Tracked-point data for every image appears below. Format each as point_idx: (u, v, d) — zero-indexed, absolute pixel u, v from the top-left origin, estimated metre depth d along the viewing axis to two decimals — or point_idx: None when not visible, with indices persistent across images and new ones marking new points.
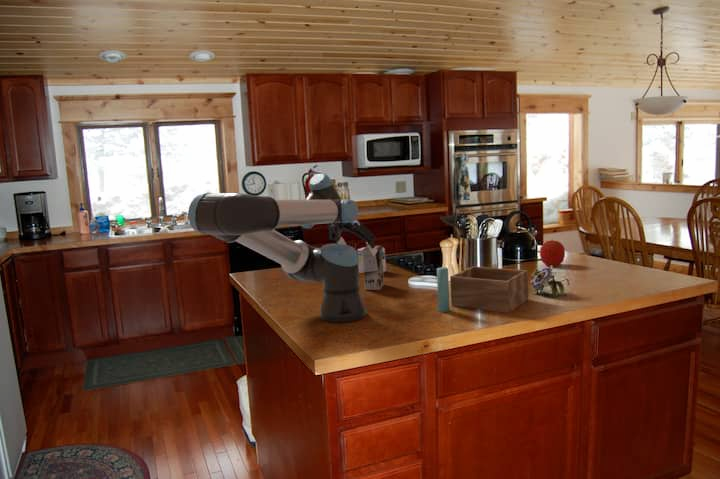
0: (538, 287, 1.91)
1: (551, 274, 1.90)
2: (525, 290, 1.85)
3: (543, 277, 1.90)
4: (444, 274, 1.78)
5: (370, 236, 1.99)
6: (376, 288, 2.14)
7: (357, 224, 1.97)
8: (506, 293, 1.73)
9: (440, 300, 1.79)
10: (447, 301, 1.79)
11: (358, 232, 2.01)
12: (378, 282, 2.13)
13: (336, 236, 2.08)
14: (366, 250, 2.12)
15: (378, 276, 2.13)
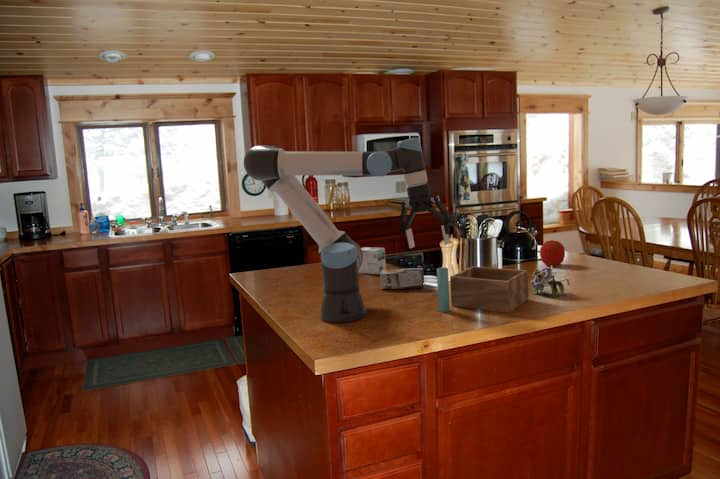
0: (538, 287, 1.91)
1: (551, 274, 1.90)
2: (525, 290, 1.85)
3: (543, 277, 1.90)
4: (444, 274, 1.78)
5: (448, 215, 1.83)
6: (382, 285, 2.13)
7: (437, 198, 1.83)
8: (506, 293, 1.73)
9: (440, 300, 1.79)
10: (447, 301, 1.79)
11: (435, 211, 1.85)
12: (388, 287, 2.13)
13: (407, 221, 1.91)
14: (420, 276, 2.10)
15: (394, 287, 2.13)
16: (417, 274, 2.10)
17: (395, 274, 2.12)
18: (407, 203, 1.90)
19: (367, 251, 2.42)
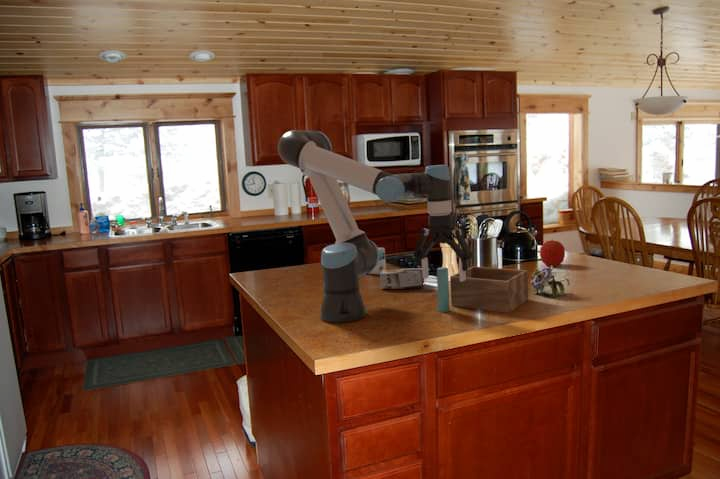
0: (538, 287, 1.91)
1: (551, 274, 1.90)
2: (525, 290, 1.85)
3: (543, 277, 1.90)
4: (444, 274, 1.78)
5: (468, 251, 1.72)
6: (382, 285, 2.13)
7: (459, 232, 1.73)
8: (506, 293, 1.73)
9: (440, 300, 1.79)
10: (447, 301, 1.79)
11: (455, 245, 1.74)
12: (388, 287, 2.13)
13: (424, 250, 1.81)
14: (420, 276, 2.10)
15: (394, 287, 2.13)
16: (417, 274, 2.10)
17: (395, 274, 2.12)
18: (427, 231, 1.80)
19: None
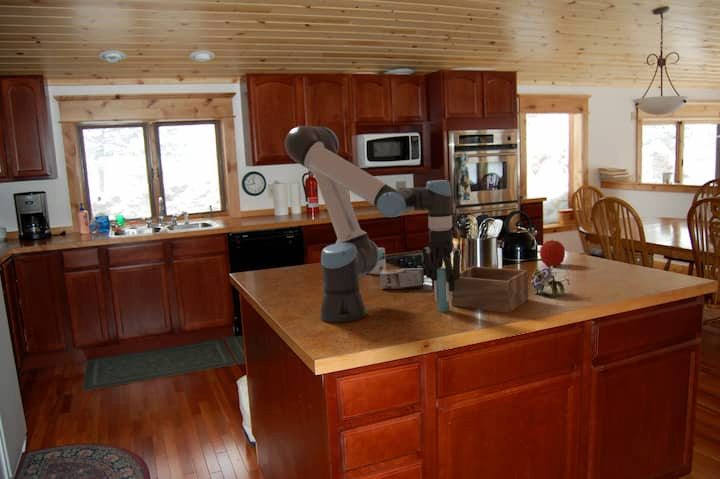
0: (538, 287, 1.91)
1: (551, 274, 1.90)
2: (525, 290, 1.85)
3: (543, 277, 1.90)
4: (444, 274, 1.78)
5: (457, 273, 1.76)
6: (382, 285, 2.13)
7: (458, 253, 1.74)
8: (506, 293, 1.73)
9: (440, 300, 1.79)
10: None
11: (449, 264, 1.77)
12: (388, 287, 2.13)
13: (433, 270, 1.80)
14: (420, 276, 2.10)
15: (394, 287, 2.13)
16: (417, 274, 2.10)
17: (395, 274, 2.12)
18: (428, 248, 1.81)
19: None
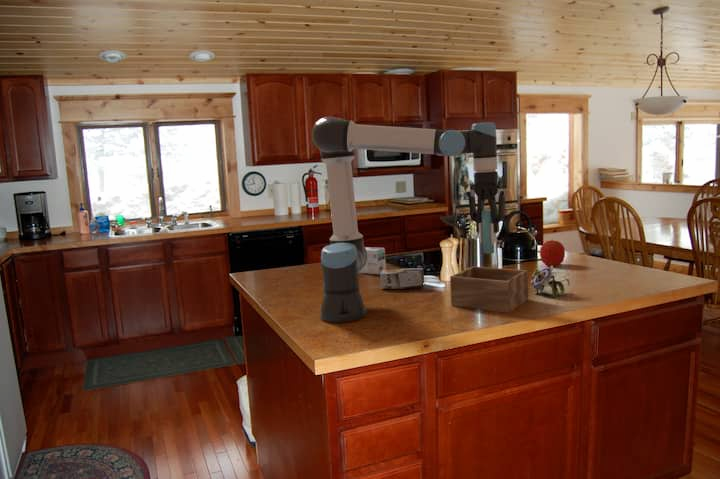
0: (538, 287, 1.90)
1: (551, 274, 1.90)
2: (525, 290, 1.85)
3: (543, 277, 1.90)
4: (489, 216, 1.80)
5: (502, 214, 1.78)
6: (382, 285, 2.13)
7: (504, 194, 1.77)
8: (506, 293, 1.73)
9: (485, 242, 1.82)
10: (492, 243, 1.82)
11: (494, 206, 1.80)
12: (388, 287, 2.13)
13: (478, 212, 1.83)
14: (420, 276, 2.10)
15: (394, 287, 2.13)
16: (417, 274, 2.10)
17: (395, 274, 2.12)
18: (472, 191, 1.83)
19: (367, 251, 2.42)
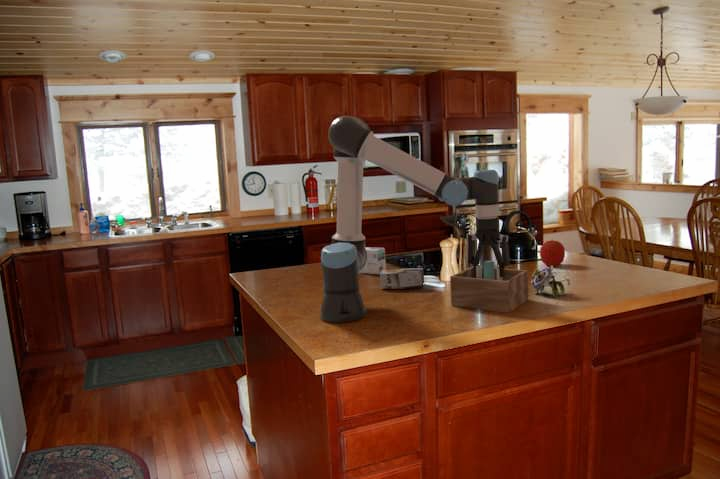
0: (538, 287, 1.90)
1: (551, 274, 1.90)
2: (525, 290, 1.85)
3: (543, 277, 1.90)
4: (491, 267, 1.83)
5: (507, 259, 1.80)
6: (382, 285, 2.13)
7: (506, 239, 1.79)
8: (506, 293, 1.73)
9: None
10: None
11: (497, 251, 1.82)
12: (388, 287, 2.13)
13: (476, 256, 1.86)
14: (420, 276, 2.10)
15: (394, 287, 2.13)
16: (417, 274, 2.10)
17: (395, 274, 2.12)
18: (474, 236, 1.86)
19: (367, 251, 2.42)
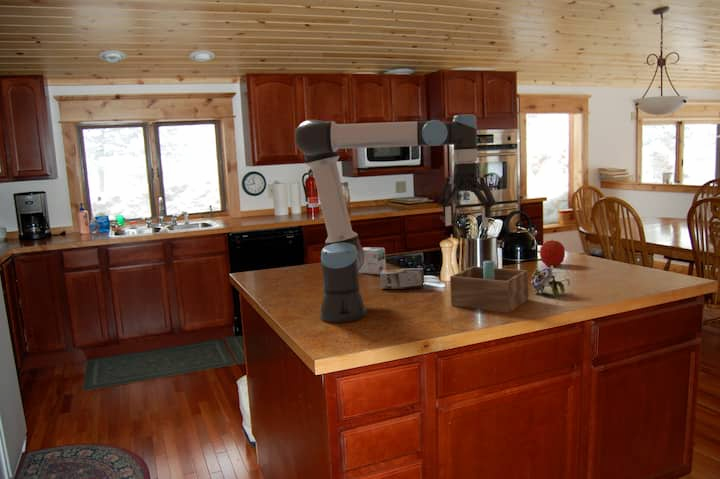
0: (539, 287, 1.90)
1: (552, 274, 1.90)
2: (525, 290, 1.85)
3: (544, 277, 1.90)
4: (491, 267, 1.83)
5: (491, 199, 1.79)
6: (382, 285, 2.13)
7: (484, 179, 1.79)
8: (506, 293, 1.73)
9: None
10: None
11: (479, 192, 1.81)
12: (388, 287, 2.13)
13: (448, 198, 1.87)
14: (420, 276, 2.10)
15: (394, 287, 2.13)
16: (417, 274, 2.10)
17: (395, 274, 2.12)
18: (452, 180, 1.86)
19: (367, 251, 2.42)
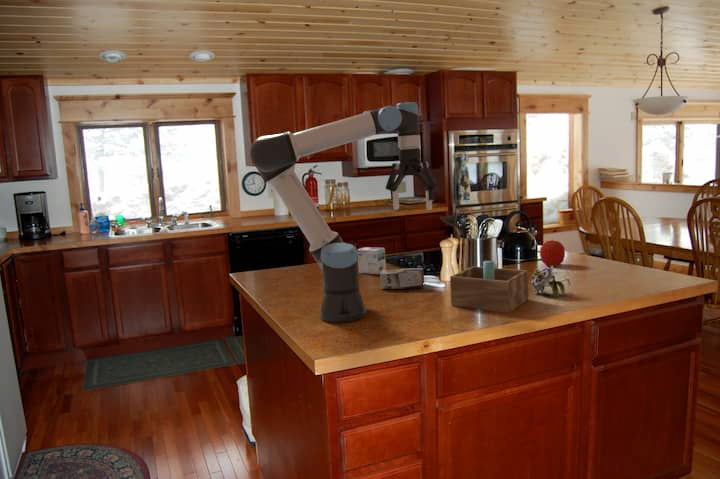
0: (539, 287, 1.90)
1: (552, 274, 1.90)
2: (525, 290, 1.85)
3: (544, 277, 1.89)
4: (491, 267, 1.83)
5: (434, 182, 1.88)
6: (382, 285, 2.13)
7: (426, 164, 1.88)
8: (506, 293, 1.73)
9: None
10: None
11: (422, 176, 1.90)
12: (388, 287, 2.13)
13: (394, 183, 1.96)
14: (420, 276, 2.10)
15: (394, 287, 2.13)
16: (417, 274, 2.10)
17: (395, 274, 2.12)
18: (397, 165, 1.95)
19: (367, 251, 2.42)
